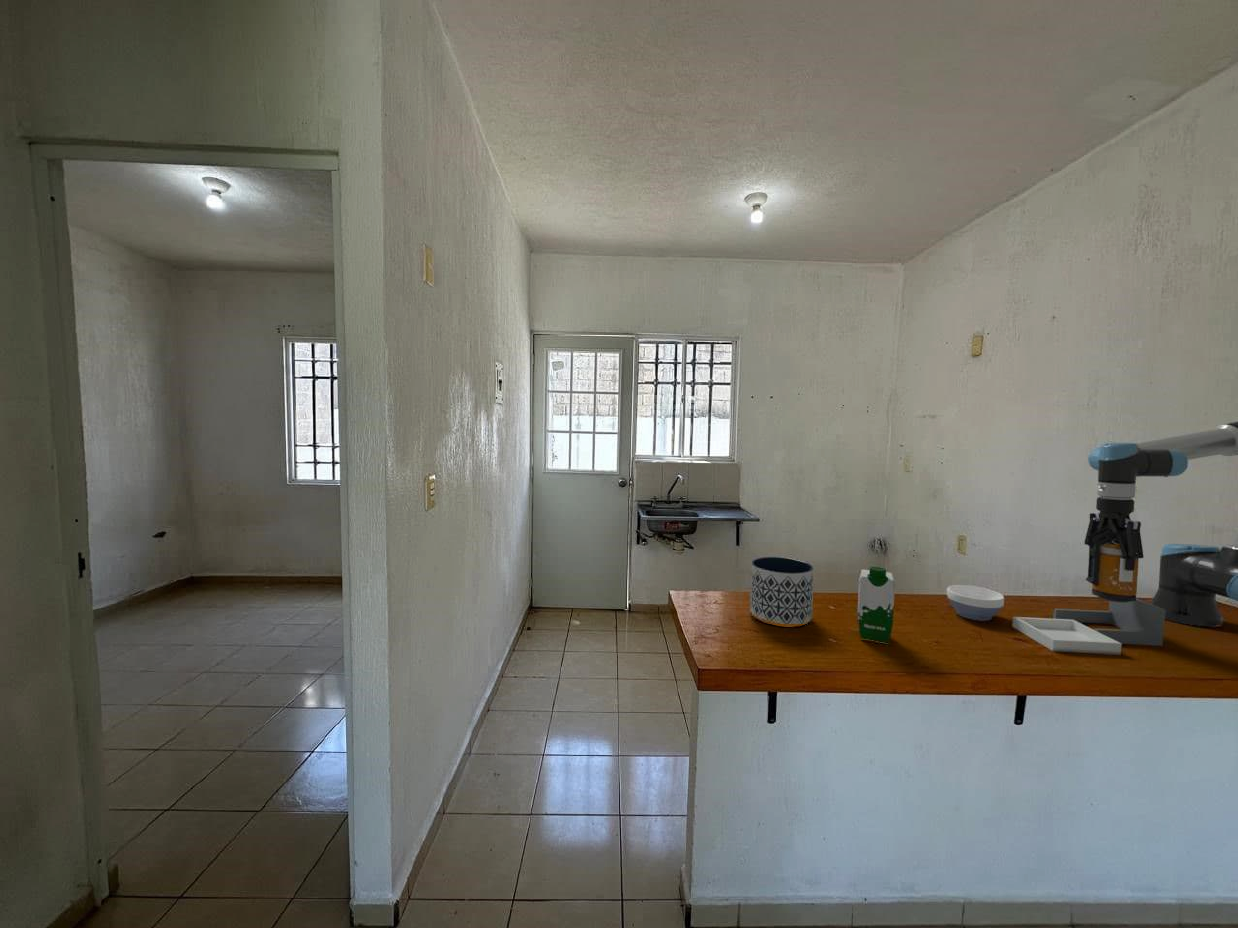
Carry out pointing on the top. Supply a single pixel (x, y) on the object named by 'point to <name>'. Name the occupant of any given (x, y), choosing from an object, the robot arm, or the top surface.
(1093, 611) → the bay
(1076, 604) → the top surface
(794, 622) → the planter
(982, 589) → the bowl
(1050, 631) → the tray
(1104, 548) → the canister
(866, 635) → the milk carton
